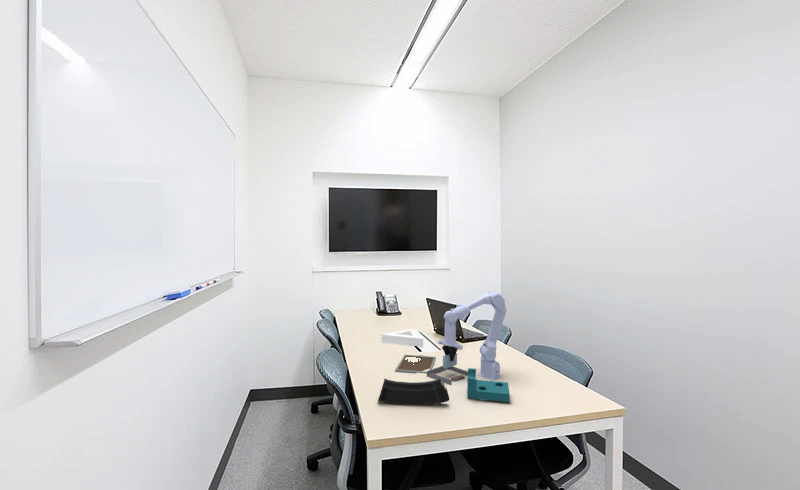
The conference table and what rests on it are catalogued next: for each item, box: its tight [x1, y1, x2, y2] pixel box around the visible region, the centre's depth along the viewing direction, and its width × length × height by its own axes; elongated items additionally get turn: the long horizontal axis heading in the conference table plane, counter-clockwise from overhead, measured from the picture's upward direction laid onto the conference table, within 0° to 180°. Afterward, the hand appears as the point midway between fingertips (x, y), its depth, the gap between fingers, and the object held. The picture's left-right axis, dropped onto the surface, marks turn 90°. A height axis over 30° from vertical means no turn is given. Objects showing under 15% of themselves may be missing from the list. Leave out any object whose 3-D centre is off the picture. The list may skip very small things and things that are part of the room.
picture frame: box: [394, 354, 437, 375], centre depth 204 cm, size 19×2×30 cm
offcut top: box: [450, 374, 466, 382], centre depth 181 cm, size 2×7×1 cm, turn 122°
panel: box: [442, 352, 458, 369], centre depth 186 cm, size 2×9×6 cm, turn 133°
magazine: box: [377, 378, 450, 406], centre depth 154 cm, size 17×3×30 cm
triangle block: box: [381, 327, 424, 348], centre depth 247 cm, size 30×26×6 cm
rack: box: [426, 365, 468, 386], centre depth 185 cm, size 16×17×3 cm
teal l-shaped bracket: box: [466, 367, 511, 403], centre depth 161 cm, size 18×11×10 cm, turn 78°
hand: (449, 360), depth 186 cm, fingers closed on panel, 2 cm apart
